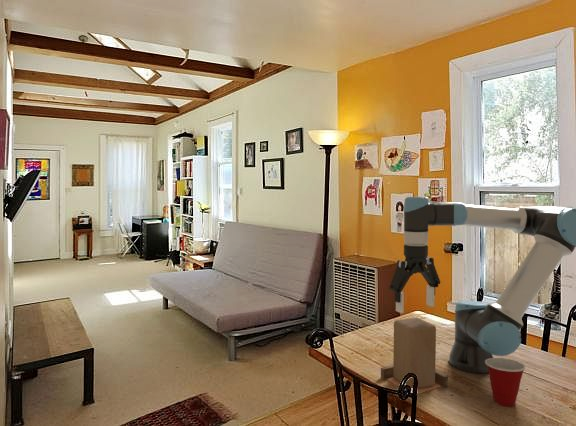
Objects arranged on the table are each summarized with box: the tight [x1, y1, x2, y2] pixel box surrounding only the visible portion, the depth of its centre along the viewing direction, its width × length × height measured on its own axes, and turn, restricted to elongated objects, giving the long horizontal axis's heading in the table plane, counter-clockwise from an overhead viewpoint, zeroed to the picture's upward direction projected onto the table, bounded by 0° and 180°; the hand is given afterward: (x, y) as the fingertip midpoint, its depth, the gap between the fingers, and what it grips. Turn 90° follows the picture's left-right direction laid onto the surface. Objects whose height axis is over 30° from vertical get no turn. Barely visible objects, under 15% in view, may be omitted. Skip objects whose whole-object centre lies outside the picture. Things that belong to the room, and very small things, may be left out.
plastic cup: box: [485, 357, 526, 407], centre depth 123 cm, size 11×11×12 cm
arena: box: [380, 364, 449, 388], centre depth 136 cm, size 15×15×4 cm
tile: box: [386, 377, 442, 395], centre depth 136 cm, size 12×12×1 cm
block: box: [392, 317, 437, 389], centre depth 135 cm, size 10×10×20 cm
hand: (415, 309), depth 134 cm, fingers open, 13 cm apart
